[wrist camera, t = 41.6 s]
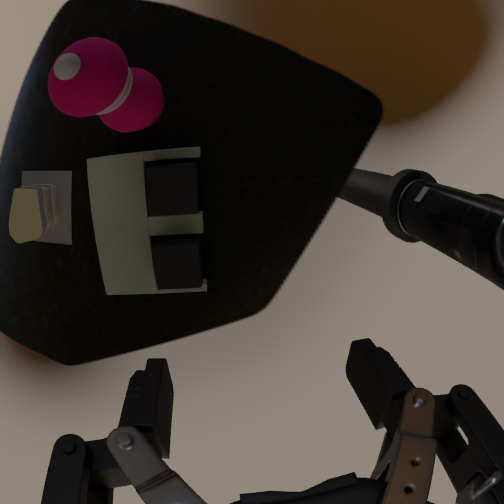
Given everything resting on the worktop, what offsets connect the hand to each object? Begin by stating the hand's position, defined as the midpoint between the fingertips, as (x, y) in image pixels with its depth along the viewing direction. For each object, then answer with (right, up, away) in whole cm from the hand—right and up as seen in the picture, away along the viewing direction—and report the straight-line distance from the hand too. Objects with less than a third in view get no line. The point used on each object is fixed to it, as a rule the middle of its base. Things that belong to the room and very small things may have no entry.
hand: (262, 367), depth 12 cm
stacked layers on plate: (-28, +11, +20) cm, 37 cm away
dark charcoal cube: (-10, +13, +22) cm, 27 cm away
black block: (-10, +4, +25) cm, 27 cm away
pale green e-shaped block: (-13, +8, +23) cm, 28 cm away
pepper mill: (-14, +22, +18) cm, 32 cm away
